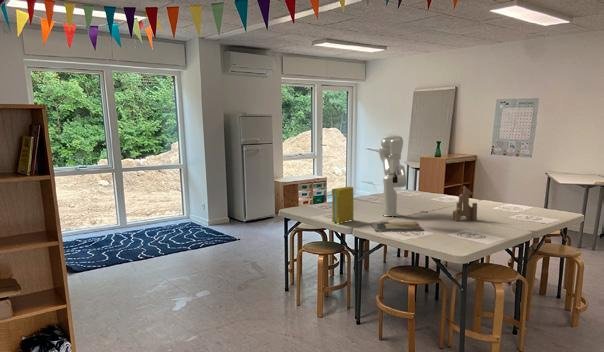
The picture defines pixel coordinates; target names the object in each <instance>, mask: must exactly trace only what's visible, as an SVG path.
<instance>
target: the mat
mask: <svg viewBox="0 0 604 352" xmlns="http://www.w3.org/2000/svg"><path fill="white" fill-rule="evenodd" d="M370 223H371V224H370V226H371V225H372V226H373V227H372V226H371V227H372V228H374V229H375V230H374V229H373V230H374V232H375V231H393V232H425V231H424V229H425V228H423V227H422V226H421V225H419V229H383V230H381V229H377V222H370ZM383 225H384V224H383Z"/></svg>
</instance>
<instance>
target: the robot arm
mask: <svg viewBox="0 0 604 352" xmlns="http://www.w3.org/2000/svg"><path fill="white" fill-rule="evenodd" d="M403 145H404V139H403V137H402V136H400V135H388V136H386V137H385V138H381V140H380V147H379V149H378V152H379V157H380V160H381V163H382V165H383V167H382V168H383V173H384V175H385V176H384V177H383V181H382V183H383V190H384V195H383V196H384V198H383V199H384V201H383V202H384V203H383V205H384V206H383V209H384V210H383V212H382V214H381V215H382V216H383V215H384V216H383V217H386V216H392V217H391V218H394V217H393V216H397V217H399V216H400V215H399V212H398V209H397V208H398V207H397V206H398V192H397V191H396V189H394V188H405V187H406V186H407V175H406V170H405V167H404V165H403V164H400V160H401V159H402V151H403Z"/></svg>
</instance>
